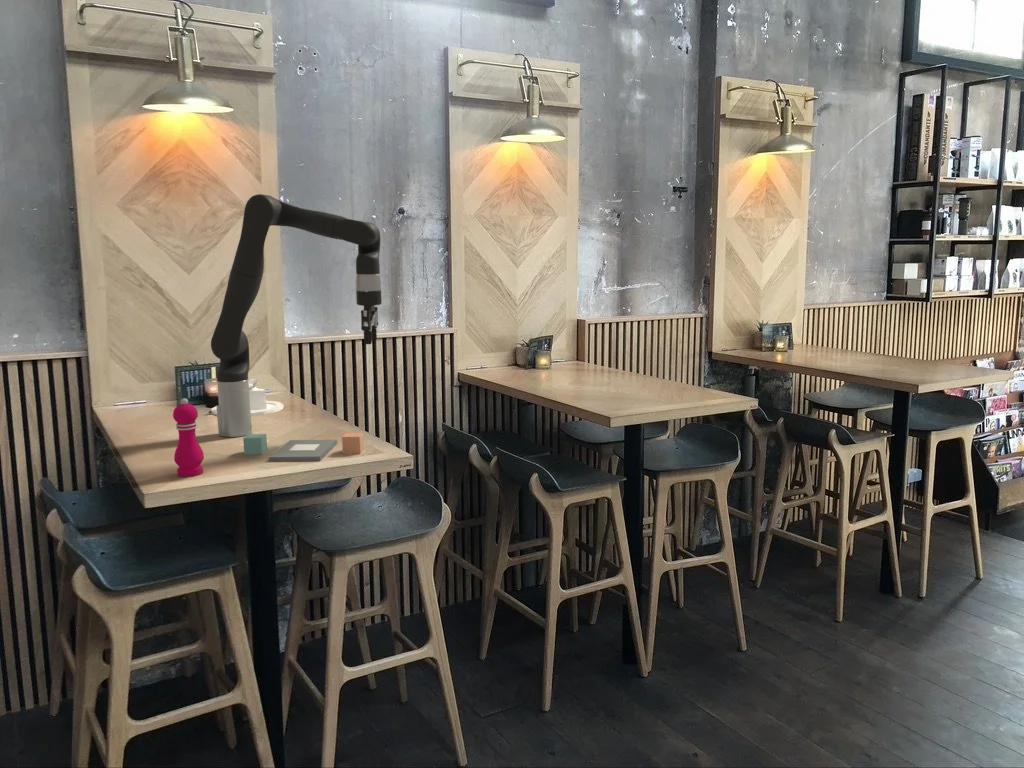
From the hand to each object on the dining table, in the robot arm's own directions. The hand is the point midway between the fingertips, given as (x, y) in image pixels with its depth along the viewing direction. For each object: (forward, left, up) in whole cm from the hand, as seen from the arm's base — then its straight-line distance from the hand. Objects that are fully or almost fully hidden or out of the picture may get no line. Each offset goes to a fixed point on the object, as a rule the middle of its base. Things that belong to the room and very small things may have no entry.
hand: (370, 342), depth 259 cm
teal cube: (-30, -23, -29) cm, 47 cm away
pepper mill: (-40, -45, -29) cm, 67 cm away
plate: (-16, -23, -28) cm, 40 cm away
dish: (-54, +41, -29) cm, 73 cm away
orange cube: (-2, -23, -29) cm, 37 cm away
